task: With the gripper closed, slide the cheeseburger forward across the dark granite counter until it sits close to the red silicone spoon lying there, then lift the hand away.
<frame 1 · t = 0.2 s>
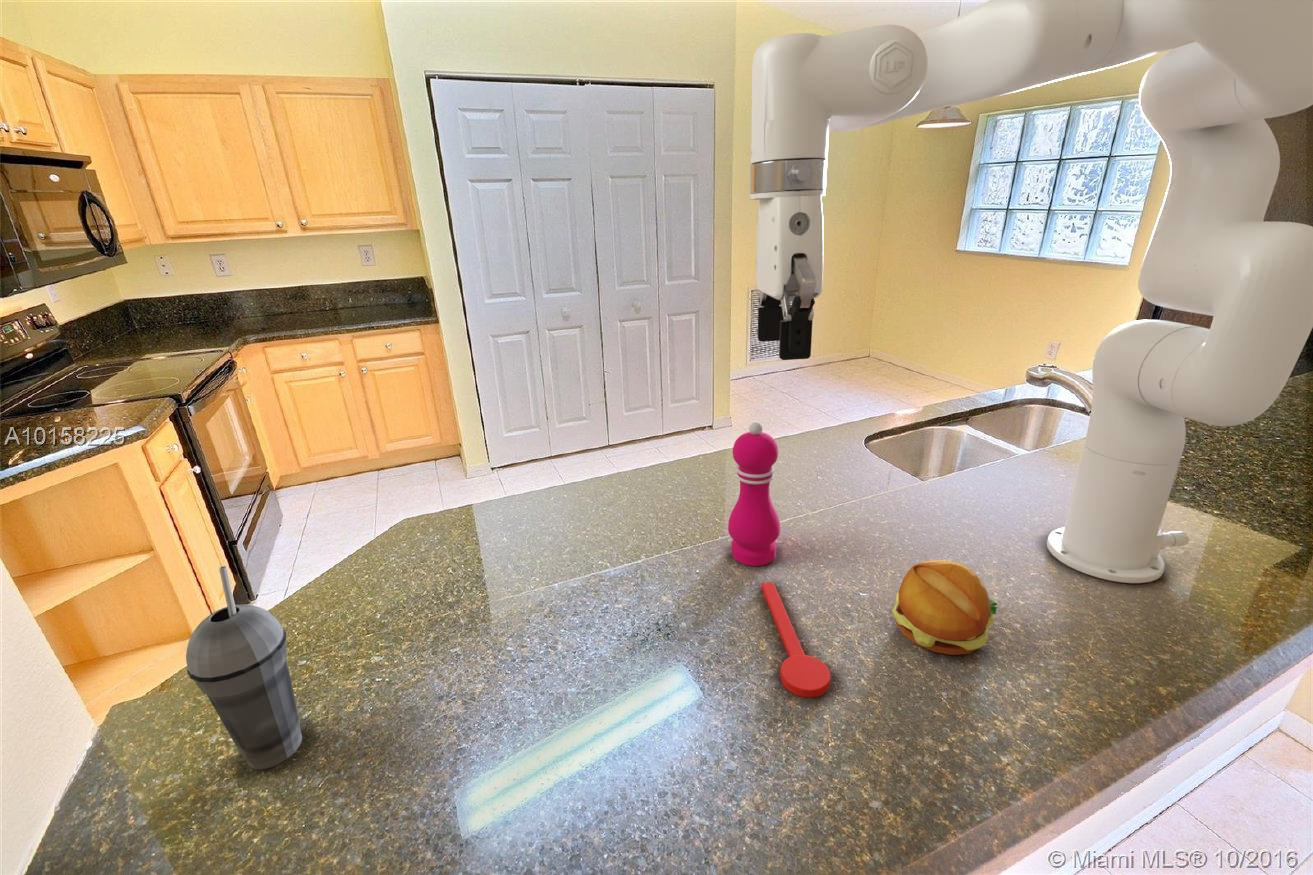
hand: (782, 349, 65), 31 cm above the countertop, tool pointing down, fingers open, 9 cm apart
spoon: (788, 640, 65), on the countertop
beverage cup: (275, 749, 55), on the countertop
cheeseburger: (938, 635, 65), on the countertop
pepper mill: (753, 555, 82), on the countertop
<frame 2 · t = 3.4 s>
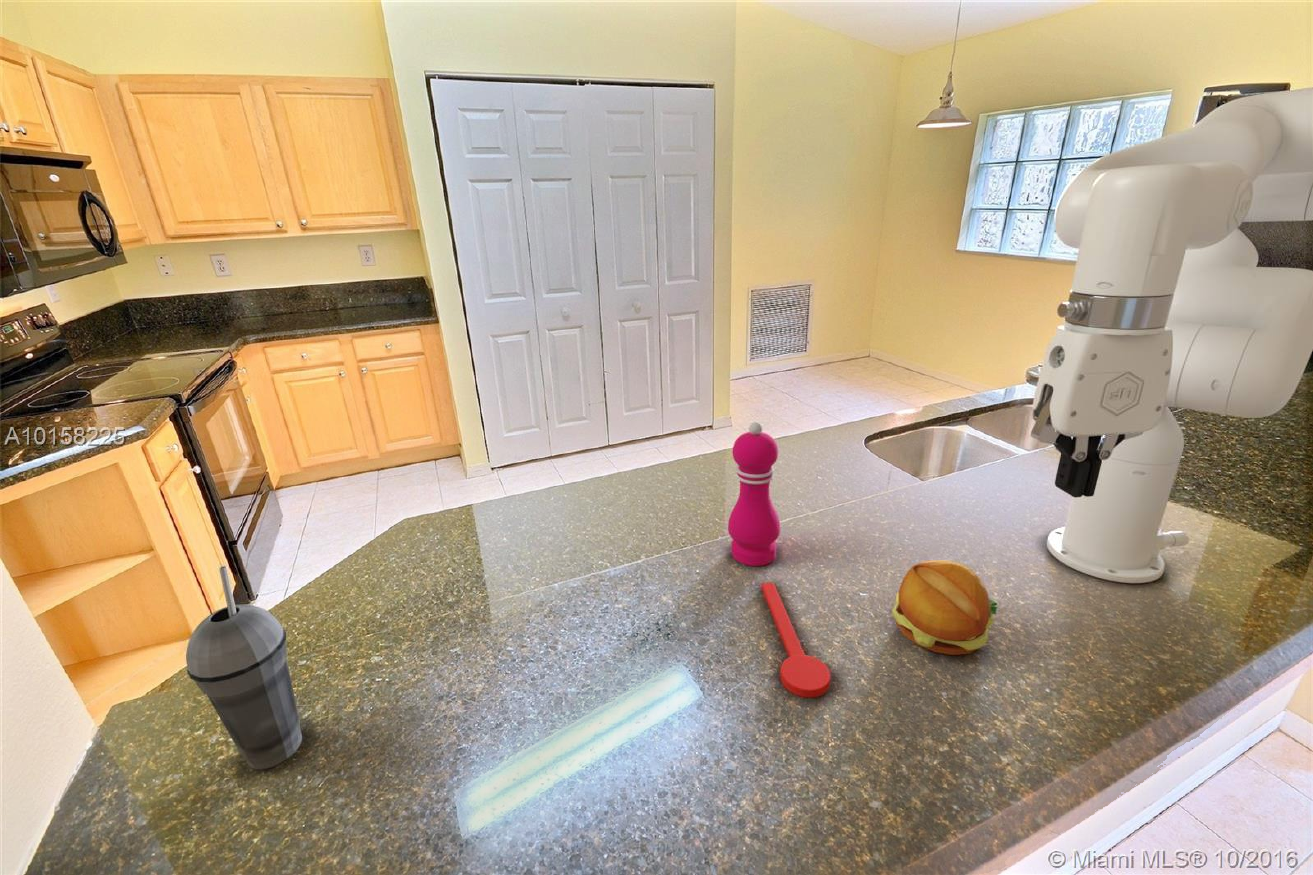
hand: (1073, 490, 60), 17 cm above the countertop, tool pointing down, fingers closed
nothing on the countertop moved.
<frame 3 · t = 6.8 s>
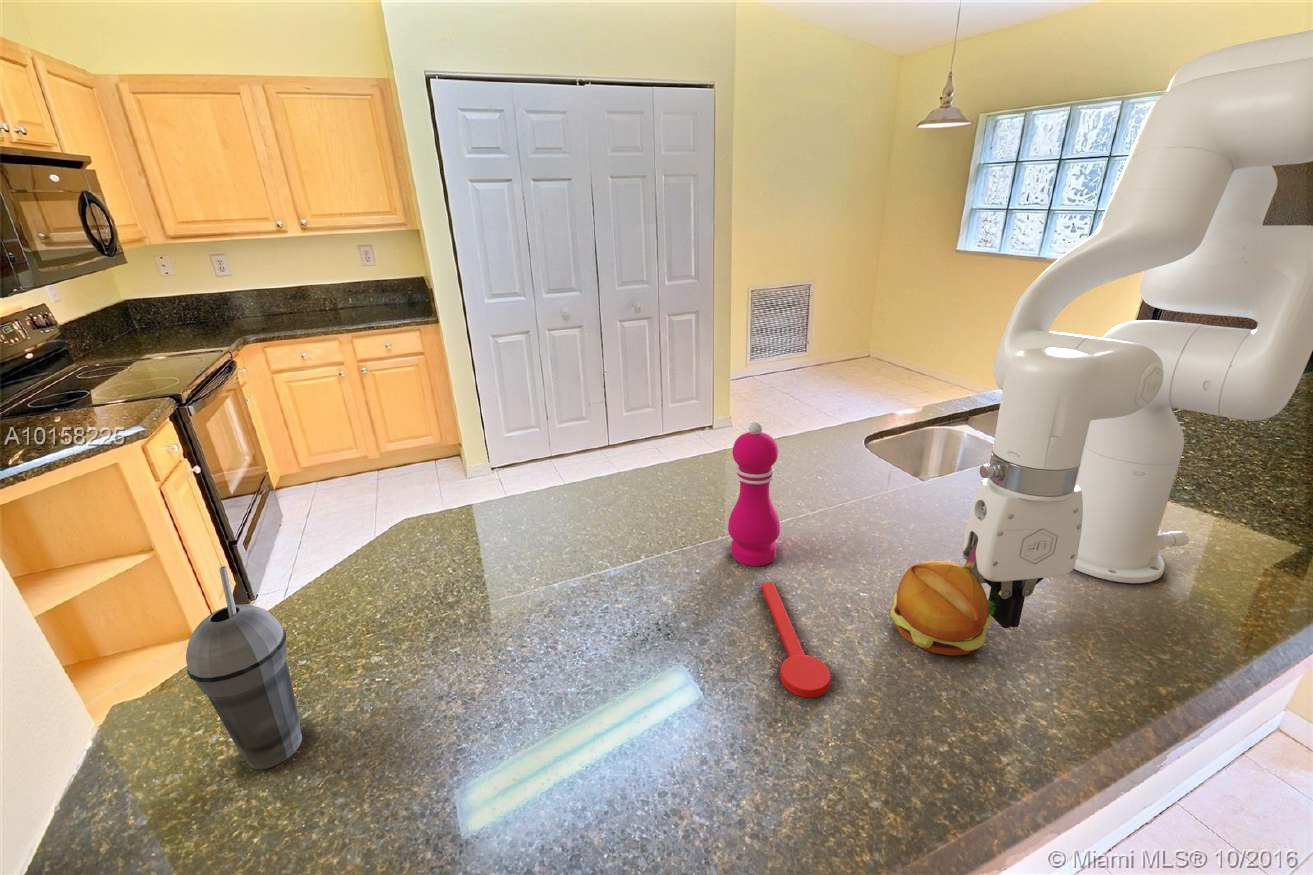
hand: (1002, 619, 65), 1 cm above the countertop, tool pointing down, fingers closed
cheeseburger: (936, 636, 65), on the countertop, touching gripper
everything else where it was.
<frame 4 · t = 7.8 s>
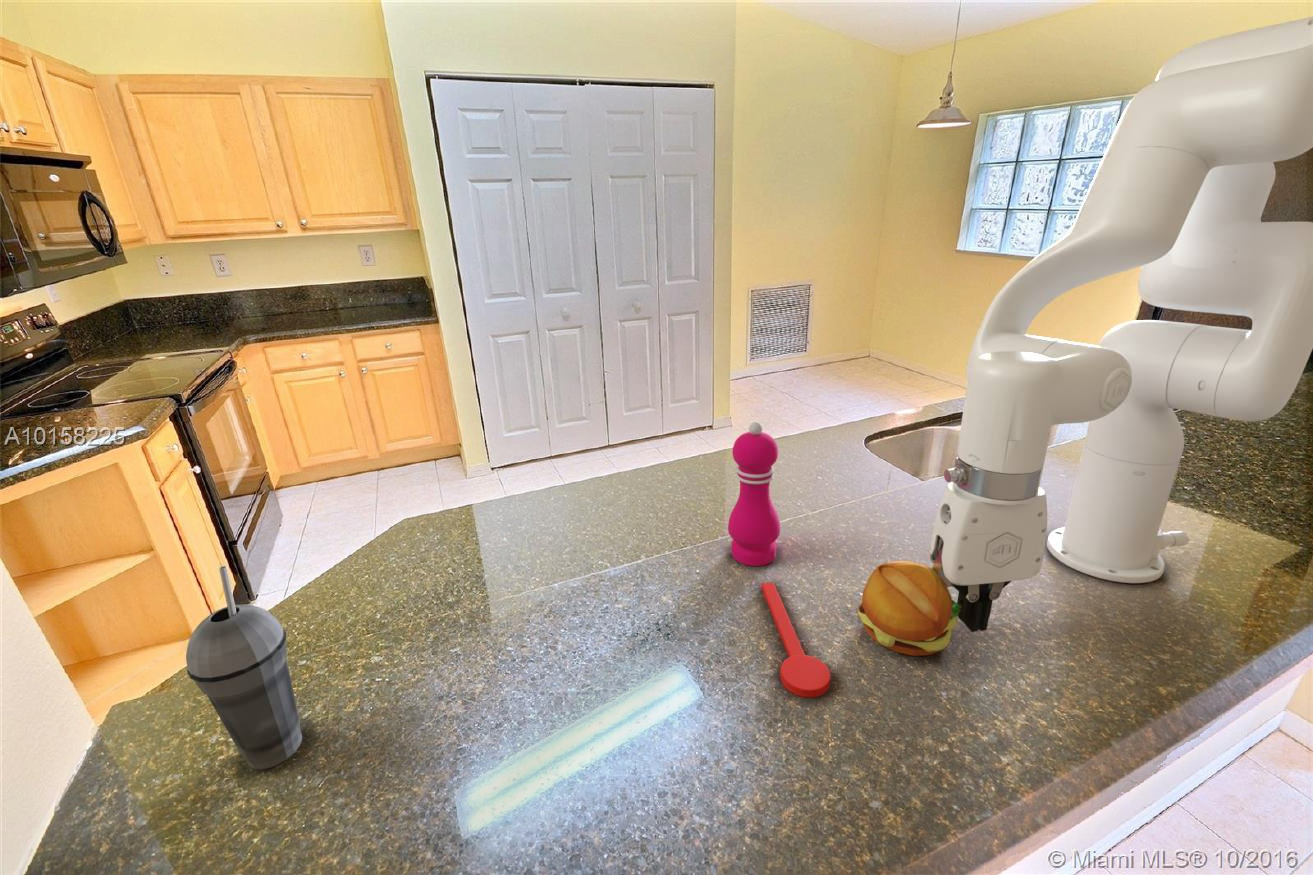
hand: (971, 622, 65), 1 cm above the countertop, tool pointing down, fingers closed
cheeseburger: (904, 636, 65), on the countertop, touching gripper
everything else where it was.
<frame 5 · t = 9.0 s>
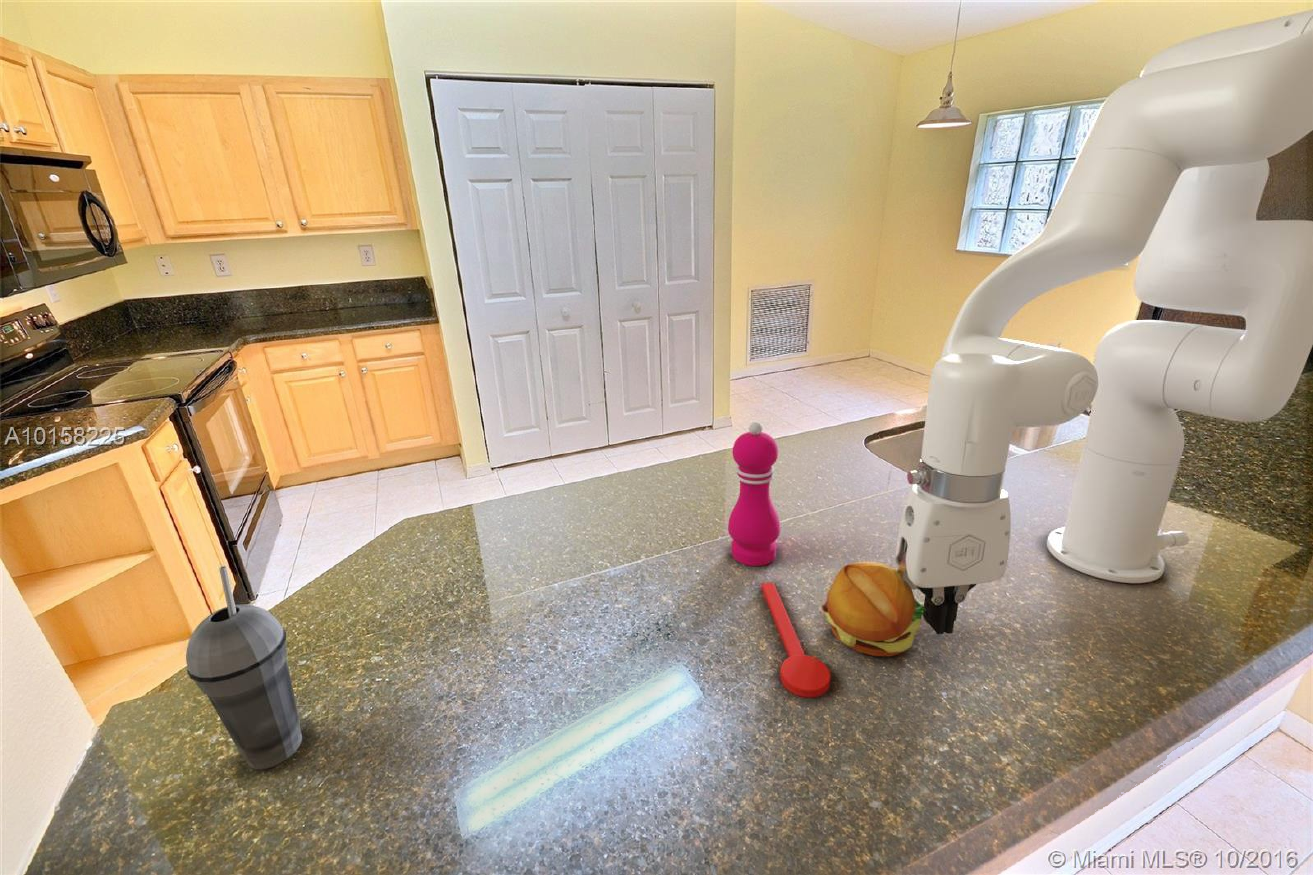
hand: (937, 625, 65), 1 cm above the countertop, tool pointing down, fingers closed
cheeseburger: (870, 636, 66), on the countertop, touching gripper
everything else where it was.
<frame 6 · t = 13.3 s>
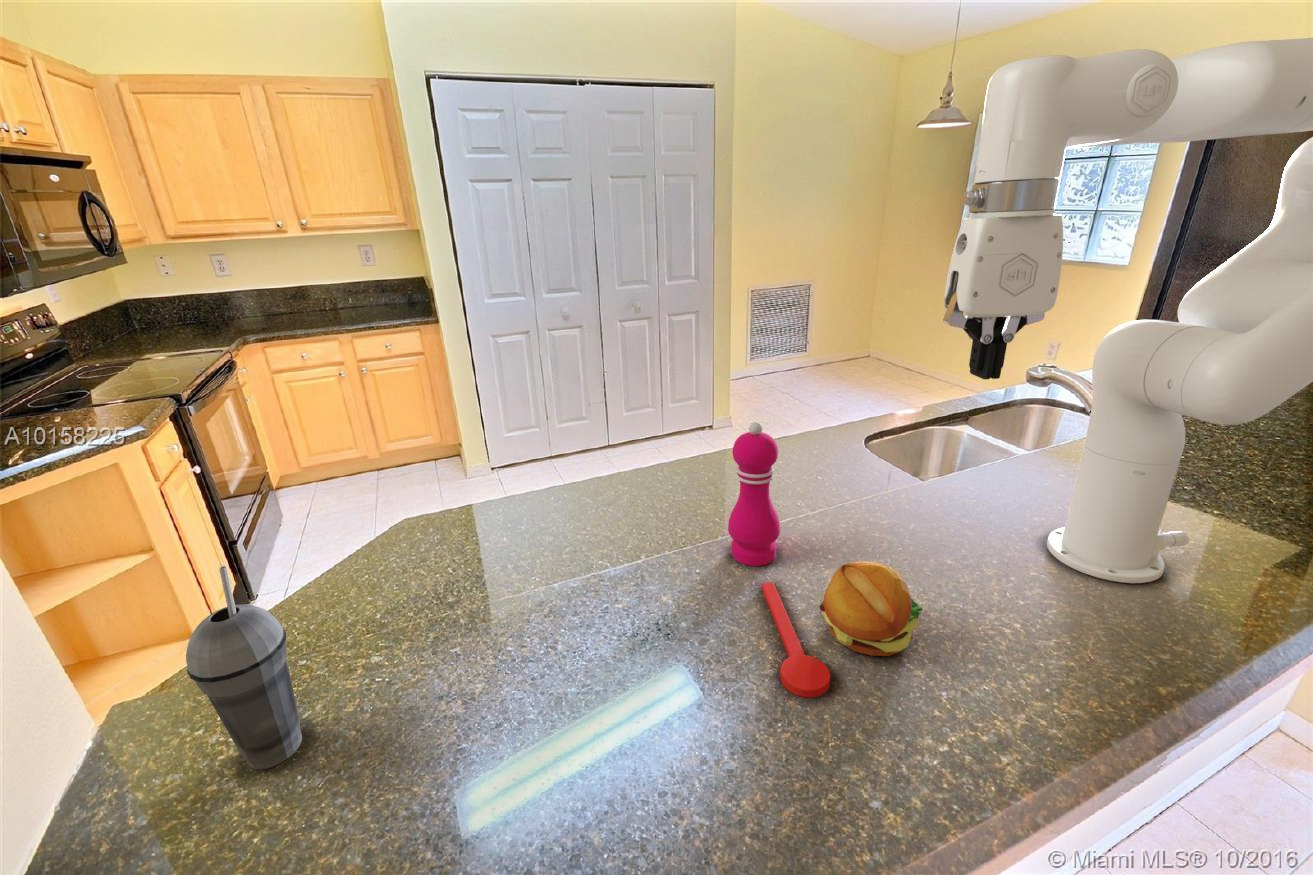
hand: (984, 375, 65), 27 cm above the countertop, tool pointing down, fingers closed
cheeseburger: (867, 636, 66), on the countertop
everything else where it was.
at the end: cheeseburger 9.0 cm from the spoon (horizontally); cheeseburger moved 8.0 cm from its start; cheeseburger tilted 2° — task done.
